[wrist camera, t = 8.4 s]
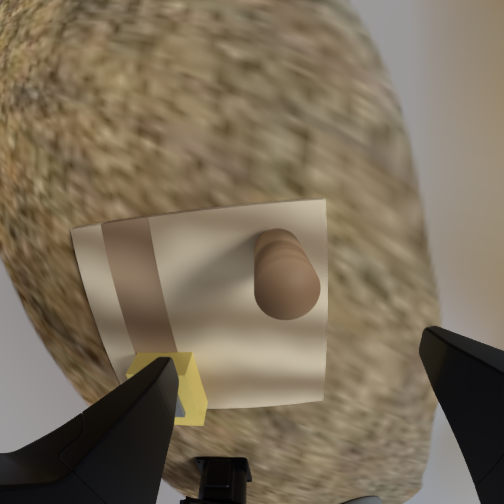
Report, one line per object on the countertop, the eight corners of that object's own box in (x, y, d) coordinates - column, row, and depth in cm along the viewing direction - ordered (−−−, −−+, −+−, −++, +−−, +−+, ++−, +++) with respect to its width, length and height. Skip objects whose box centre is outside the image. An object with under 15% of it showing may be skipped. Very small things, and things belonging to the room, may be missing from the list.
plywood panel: (321, 392, 25) (323, 400, 24) (132, 398, 25) (130, 404, 24) (322, 197, 20) (325, 199, 19) (76, 226, 20) (70, 229, 19)
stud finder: (207, 402, 24) (202, 429, 20) (158, 401, 24) (148, 426, 21) (192, 351, 22) (183, 379, 19) (137, 352, 22) (123, 377, 19)
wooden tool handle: (299, 266, 20) (320, 316, 13) (256, 270, 20) (257, 323, 13) (297, 223, 19) (320, 256, 12) (252, 227, 19) (250, 262, 12)
